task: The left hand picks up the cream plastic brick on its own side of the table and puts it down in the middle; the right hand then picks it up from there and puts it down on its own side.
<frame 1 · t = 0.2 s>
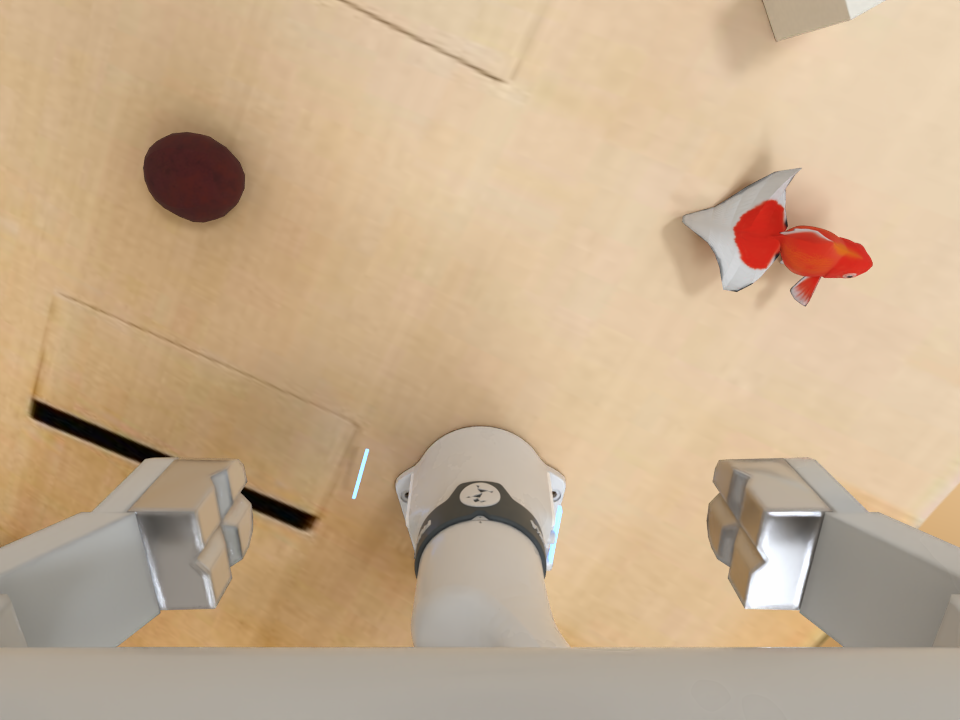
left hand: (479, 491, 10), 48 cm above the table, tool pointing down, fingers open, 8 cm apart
dark maroon ball: (214, 175, 54), on the table
fish: (752, 235, 56), on the table
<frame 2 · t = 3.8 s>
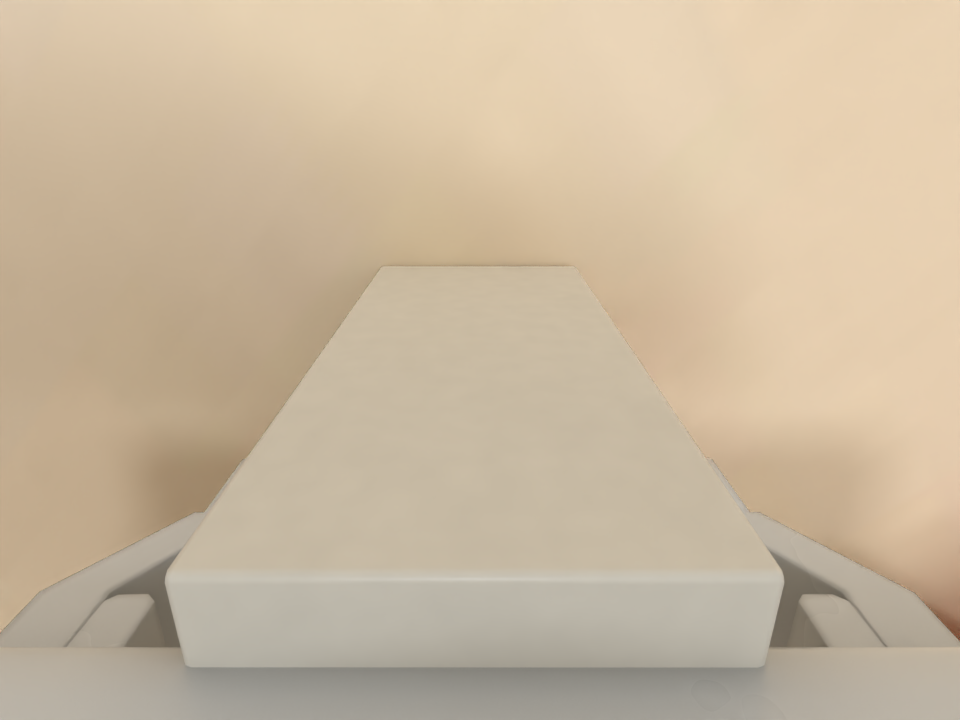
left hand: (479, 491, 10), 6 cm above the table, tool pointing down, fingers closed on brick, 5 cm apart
brick: (478, 366, 16), on the table, touching left hand
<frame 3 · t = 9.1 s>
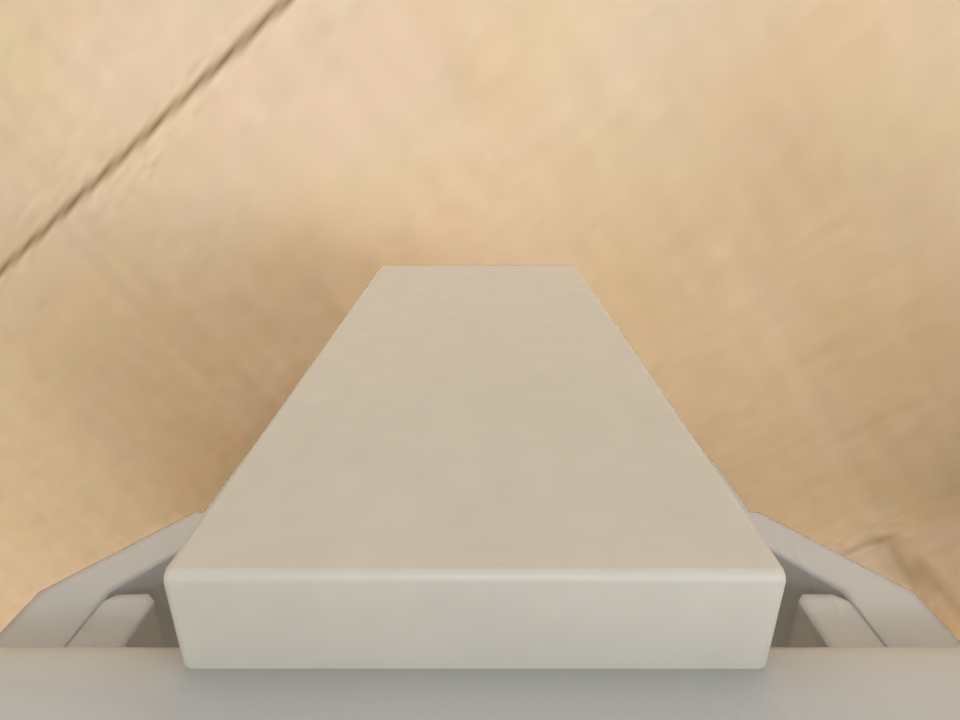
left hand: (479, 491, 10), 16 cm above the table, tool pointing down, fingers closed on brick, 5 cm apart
brick: (478, 365, 16), point 11 cm above the table, touching left hand
when the left hand's fingers open (7 cm above the table, at t = 14.4 s): brick drops 1 cm, on the table.
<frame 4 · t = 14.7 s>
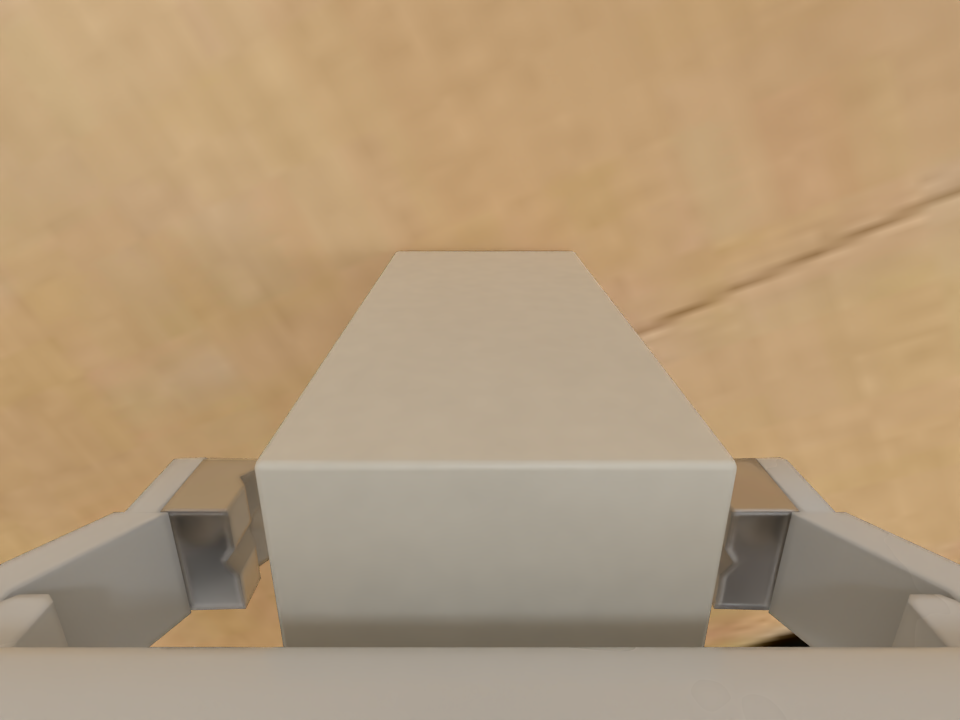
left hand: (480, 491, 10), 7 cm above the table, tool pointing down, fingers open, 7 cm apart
brick: (484, 344, 17), on the table
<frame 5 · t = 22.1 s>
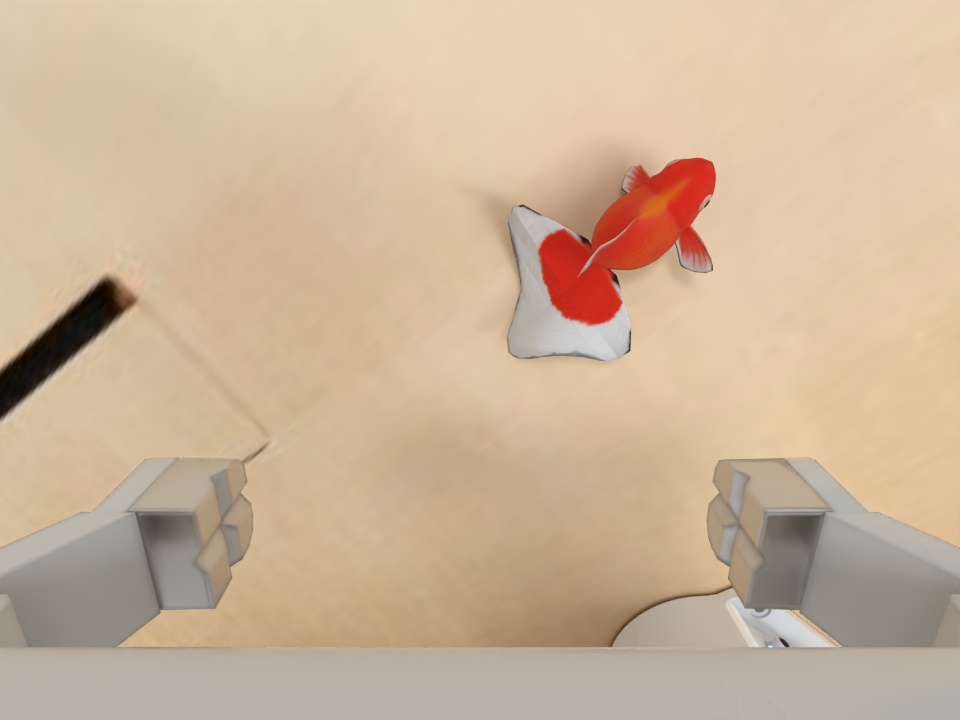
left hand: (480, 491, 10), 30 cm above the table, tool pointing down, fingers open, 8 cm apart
fish: (587, 255, 39), on the table
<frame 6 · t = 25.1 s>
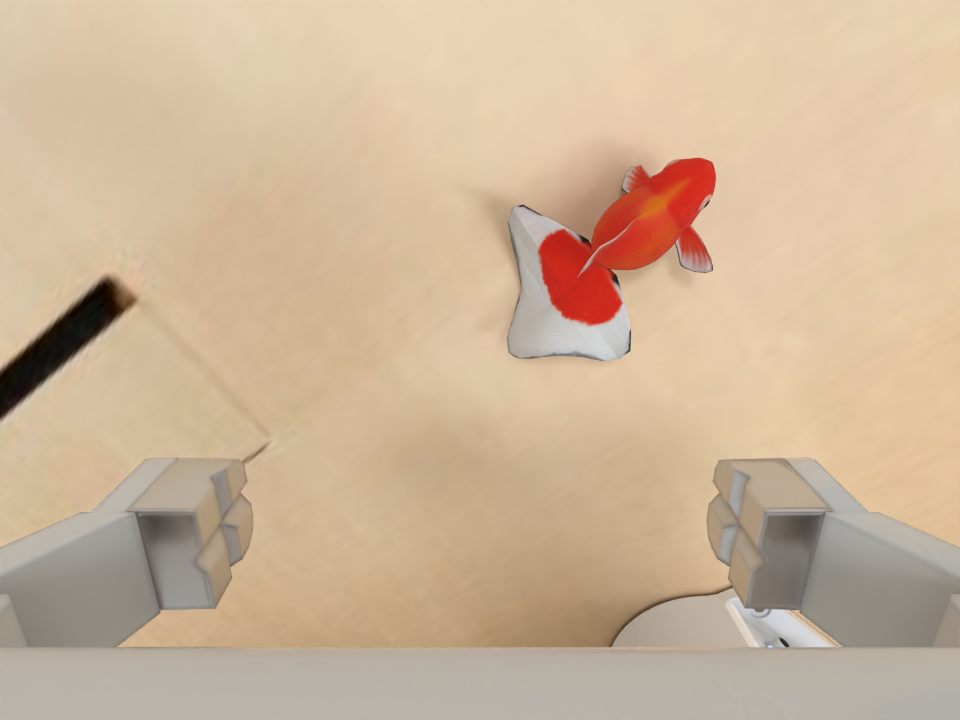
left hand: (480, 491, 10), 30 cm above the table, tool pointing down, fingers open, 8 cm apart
fish: (587, 255, 39), on the table
when the right hand's fingers open (5 cm above the table, at t = 28.2 s): brick drops 1 cm, on the table.
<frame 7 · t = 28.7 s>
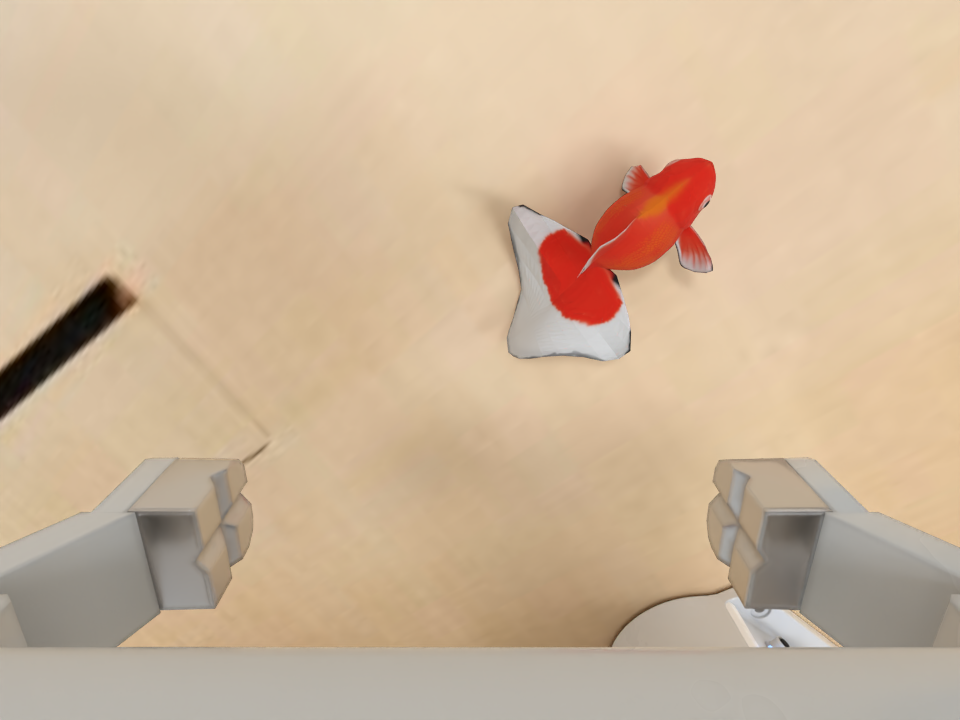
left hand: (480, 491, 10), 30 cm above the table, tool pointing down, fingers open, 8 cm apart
fish: (587, 255, 39), on the table
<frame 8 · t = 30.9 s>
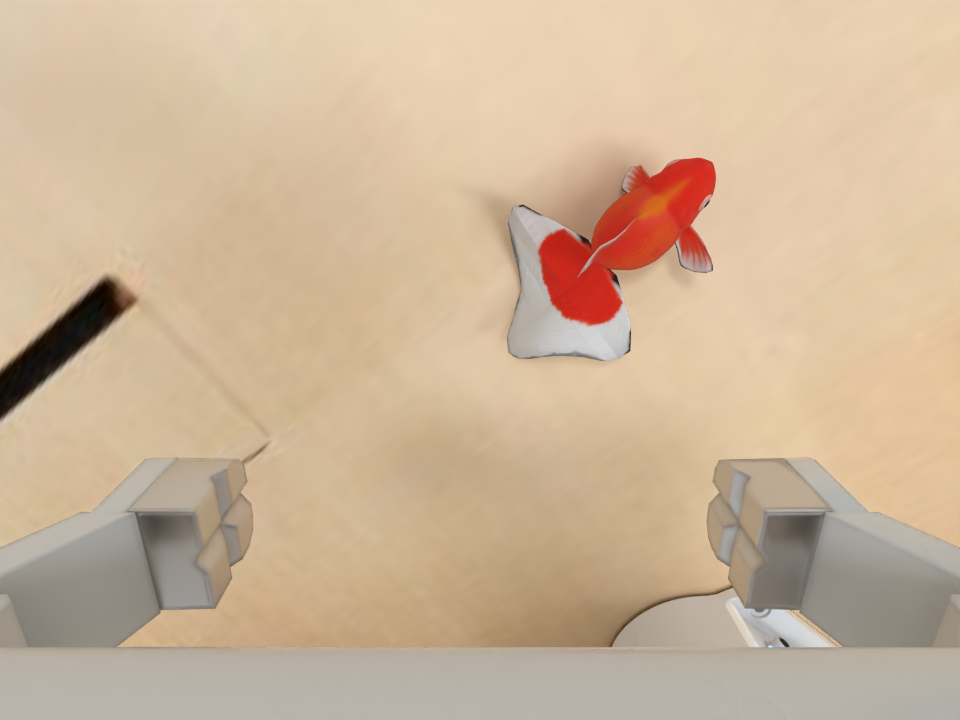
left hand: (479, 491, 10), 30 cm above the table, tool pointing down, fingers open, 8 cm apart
fish: (587, 255, 39), on the table
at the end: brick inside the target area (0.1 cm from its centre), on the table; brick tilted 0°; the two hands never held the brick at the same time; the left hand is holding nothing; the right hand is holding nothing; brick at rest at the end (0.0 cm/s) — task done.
